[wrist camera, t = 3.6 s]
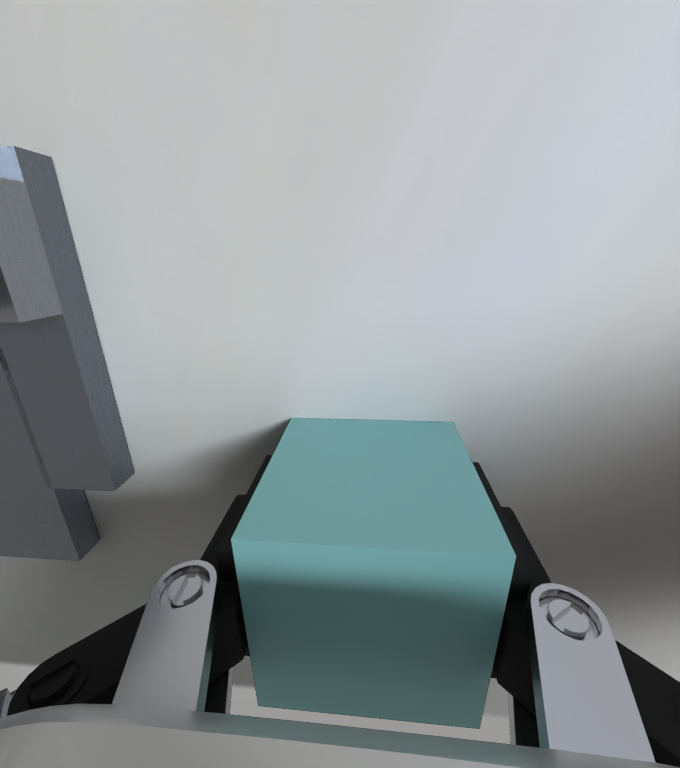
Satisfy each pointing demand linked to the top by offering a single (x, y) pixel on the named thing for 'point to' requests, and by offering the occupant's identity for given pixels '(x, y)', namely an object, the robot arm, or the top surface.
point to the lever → (23, 260)
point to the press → (54, 397)
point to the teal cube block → (373, 573)
